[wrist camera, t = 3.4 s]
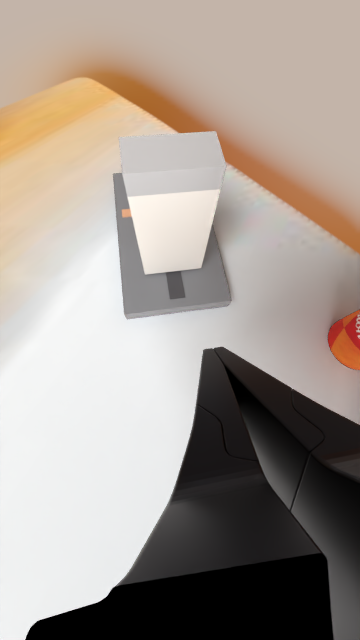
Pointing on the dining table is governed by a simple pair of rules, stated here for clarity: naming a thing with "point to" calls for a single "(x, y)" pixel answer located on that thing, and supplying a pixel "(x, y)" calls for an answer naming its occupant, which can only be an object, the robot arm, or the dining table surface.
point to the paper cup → (346, 340)
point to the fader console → (168, 287)
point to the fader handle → (172, 196)
